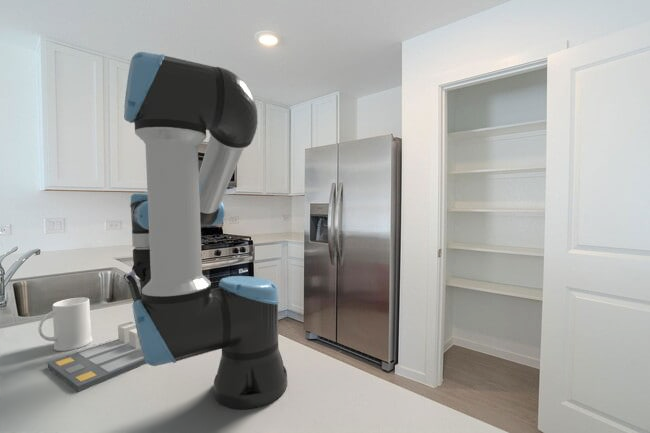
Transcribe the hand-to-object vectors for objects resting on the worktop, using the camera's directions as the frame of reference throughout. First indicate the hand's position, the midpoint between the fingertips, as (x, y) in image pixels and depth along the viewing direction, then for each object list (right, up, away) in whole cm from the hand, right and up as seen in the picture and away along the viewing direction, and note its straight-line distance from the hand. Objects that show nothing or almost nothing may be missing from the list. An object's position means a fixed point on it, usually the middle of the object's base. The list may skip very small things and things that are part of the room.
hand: (150, 327), depth 96 cm
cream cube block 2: (+1, -2, -8) cm, 9 cm away
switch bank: (-2, -3, -13) cm, 14 cm away
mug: (-20, -3, -6) cm, 21 cm away
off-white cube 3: (-3, -2, -5) cm, 6 cm away
